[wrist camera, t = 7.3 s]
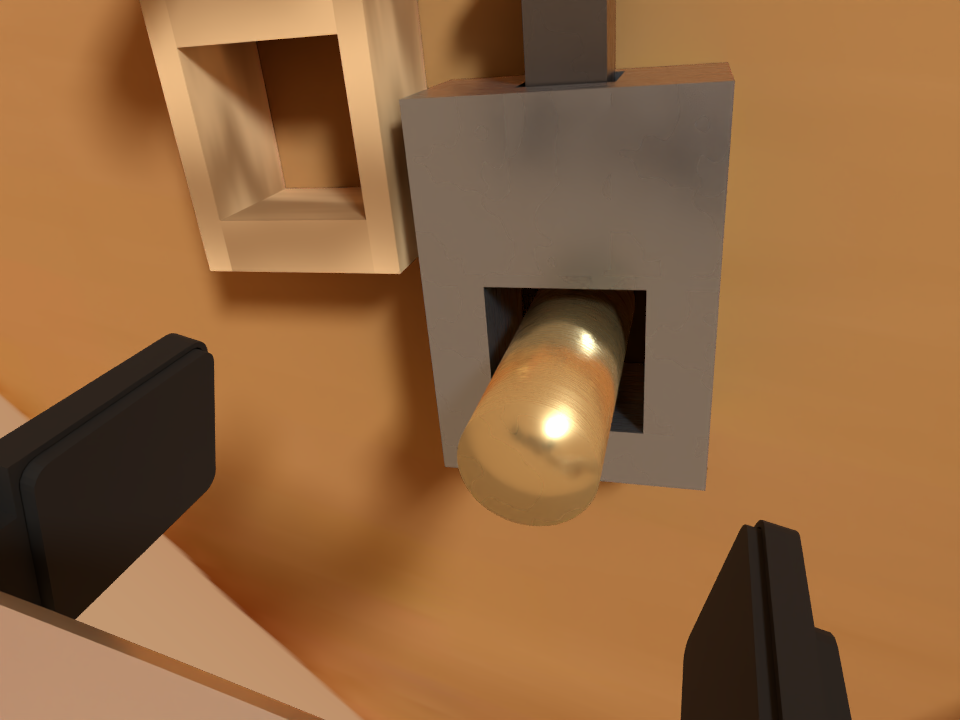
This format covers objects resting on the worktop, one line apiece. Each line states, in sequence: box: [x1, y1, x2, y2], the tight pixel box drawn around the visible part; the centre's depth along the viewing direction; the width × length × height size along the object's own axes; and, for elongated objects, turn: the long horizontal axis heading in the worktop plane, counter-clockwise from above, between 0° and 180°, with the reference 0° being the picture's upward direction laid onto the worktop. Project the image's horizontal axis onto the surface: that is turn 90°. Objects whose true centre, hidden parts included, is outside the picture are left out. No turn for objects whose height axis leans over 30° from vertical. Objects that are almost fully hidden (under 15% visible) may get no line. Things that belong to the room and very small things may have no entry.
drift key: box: [521, 0, 616, 87], centre depth 24 cm, size 10×4×4 cm, turn 5°
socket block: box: [399, 62, 735, 491], centre depth 27 cm, size 14×10×6 cm
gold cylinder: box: [457, 288, 635, 526], centre depth 25 cm, size 4×4×12 cm
